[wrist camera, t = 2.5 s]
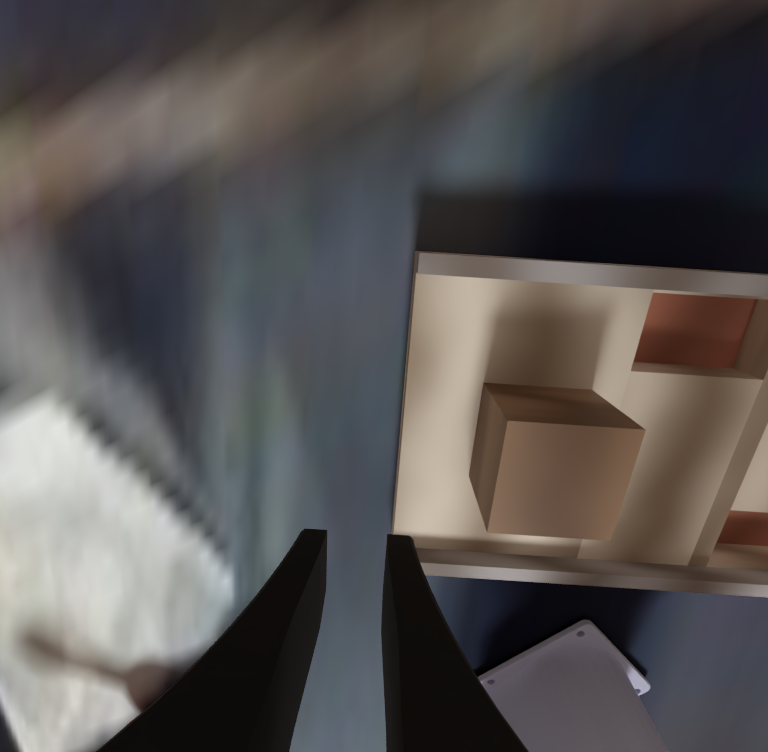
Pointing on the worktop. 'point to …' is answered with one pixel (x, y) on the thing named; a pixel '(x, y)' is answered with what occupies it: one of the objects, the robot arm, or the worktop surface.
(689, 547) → the board
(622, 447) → the walnut block
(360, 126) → the worktop surface
